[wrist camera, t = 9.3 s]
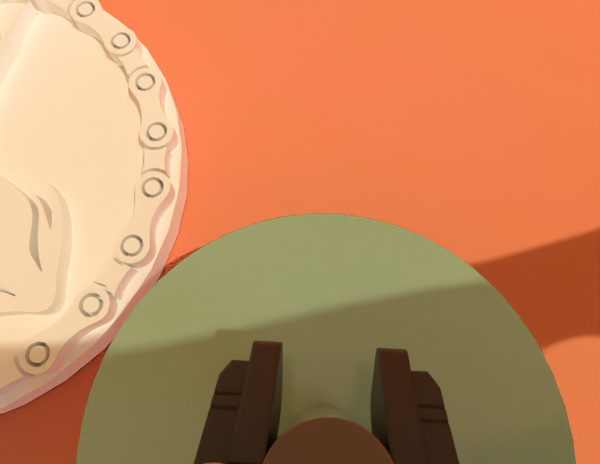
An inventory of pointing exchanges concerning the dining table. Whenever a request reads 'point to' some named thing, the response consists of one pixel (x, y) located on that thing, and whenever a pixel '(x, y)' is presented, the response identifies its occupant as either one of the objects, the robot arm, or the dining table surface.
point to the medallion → (78, 187)
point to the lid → (324, 348)
